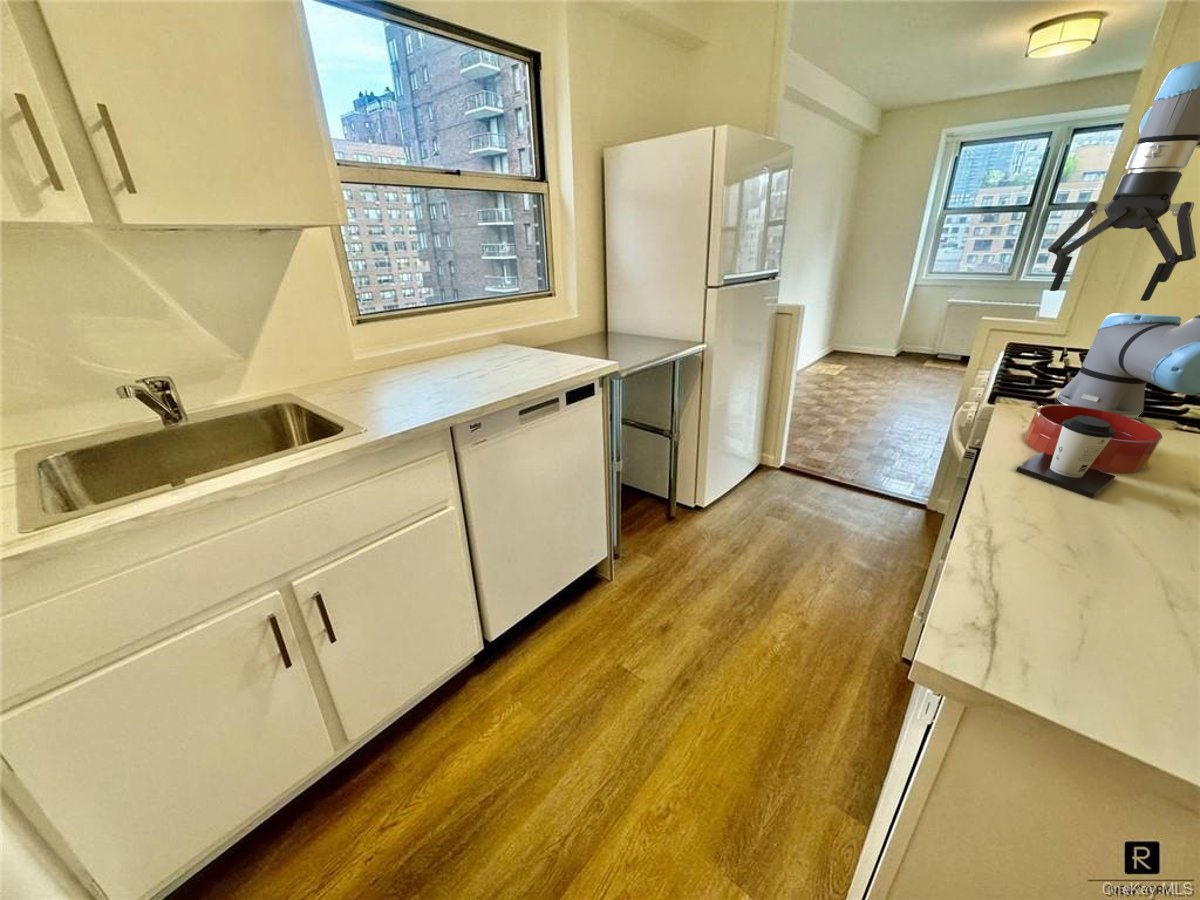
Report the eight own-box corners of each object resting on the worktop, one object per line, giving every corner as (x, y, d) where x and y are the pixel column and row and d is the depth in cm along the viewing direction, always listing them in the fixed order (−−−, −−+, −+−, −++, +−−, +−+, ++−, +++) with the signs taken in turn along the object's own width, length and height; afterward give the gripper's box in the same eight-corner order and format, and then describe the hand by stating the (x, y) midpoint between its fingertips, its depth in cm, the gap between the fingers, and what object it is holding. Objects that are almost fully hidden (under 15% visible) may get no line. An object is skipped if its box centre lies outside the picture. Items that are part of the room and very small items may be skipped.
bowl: (1043, 425, 109) (1056, 398, 106) (1156, 457, 96) (1174, 427, 93) (1009, 444, 100) (1021, 415, 97) (1127, 482, 87) (1146, 450, 84)
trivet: (1039, 456, 95) (1041, 452, 95) (1113, 480, 87) (1116, 475, 87) (1015, 471, 90) (1017, 466, 90) (1092, 498, 82) (1095, 493, 81)
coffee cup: (1096, 484, 84) (1125, 433, 79) (1045, 474, 87) (1069, 423, 83) (1086, 468, 89) (1113, 418, 85) (1038, 458, 92) (1061, 410, 88)
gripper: (1057, 174, 93) (1014, 288, 103) (1259, 166, 75) (1184, 307, 84) (1071, 175, 97) (1028, 285, 106) (1267, 168, 78) (1193, 302, 88)
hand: (1097, 295), depth 95 cm, fingers open, 13 cm apart
